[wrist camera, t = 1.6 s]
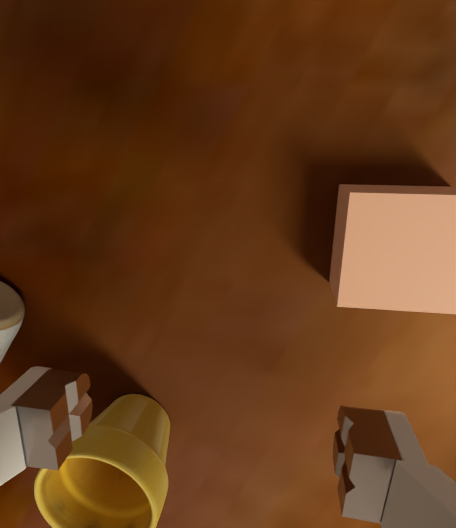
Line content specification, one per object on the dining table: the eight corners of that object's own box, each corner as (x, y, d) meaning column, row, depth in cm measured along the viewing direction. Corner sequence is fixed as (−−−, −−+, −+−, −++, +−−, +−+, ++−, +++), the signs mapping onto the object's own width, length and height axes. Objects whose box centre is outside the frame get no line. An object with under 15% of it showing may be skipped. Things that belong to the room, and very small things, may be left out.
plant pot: (97, 363, 36) (35, 439, 27) (197, 393, 36) (167, 480, 27) (86, 441, 40) (28, 531, 31) (177, 469, 39) (145, 569, 30)
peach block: (338, 183, 28) (349, 192, 23) (450, 186, 27) (485, 195, 22) (328, 281, 31) (337, 306, 26) (430, 286, 30) (458, 314, 25)
